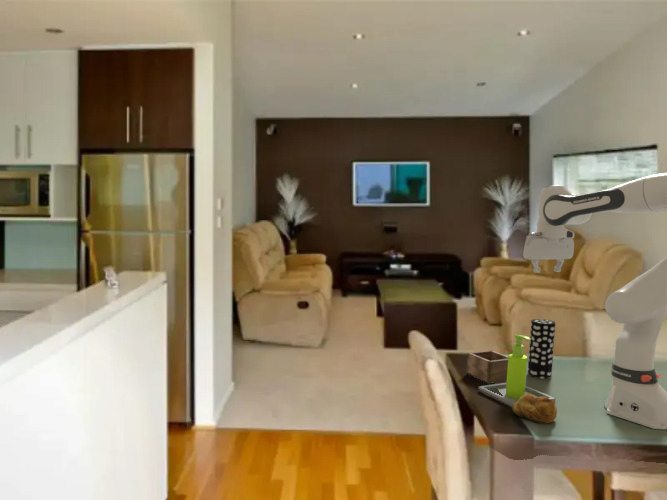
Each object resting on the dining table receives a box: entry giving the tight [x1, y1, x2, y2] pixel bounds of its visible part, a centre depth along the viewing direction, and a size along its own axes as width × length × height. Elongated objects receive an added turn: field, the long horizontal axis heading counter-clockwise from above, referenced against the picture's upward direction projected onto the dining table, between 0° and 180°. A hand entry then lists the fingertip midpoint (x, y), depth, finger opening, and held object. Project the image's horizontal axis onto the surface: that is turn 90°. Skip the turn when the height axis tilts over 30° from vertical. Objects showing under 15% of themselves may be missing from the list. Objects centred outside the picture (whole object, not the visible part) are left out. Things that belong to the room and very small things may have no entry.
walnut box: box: [466, 349, 508, 384], centre depth 221 cm, size 12×11×8 cm
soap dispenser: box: [505, 334, 531, 398], centre depth 200 cm, size 6×7×20 cm
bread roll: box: [511, 394, 558, 424], centre depth 183 cm, size 13×10×8 cm
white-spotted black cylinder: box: [527, 318, 556, 380], centre depth 225 cm, size 8×8×20 cm
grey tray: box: [478, 382, 556, 408], centre depth 201 cm, size 18×16×2 cm
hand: (547, 272), depth 214 cm, fingers open, 8 cm apart
